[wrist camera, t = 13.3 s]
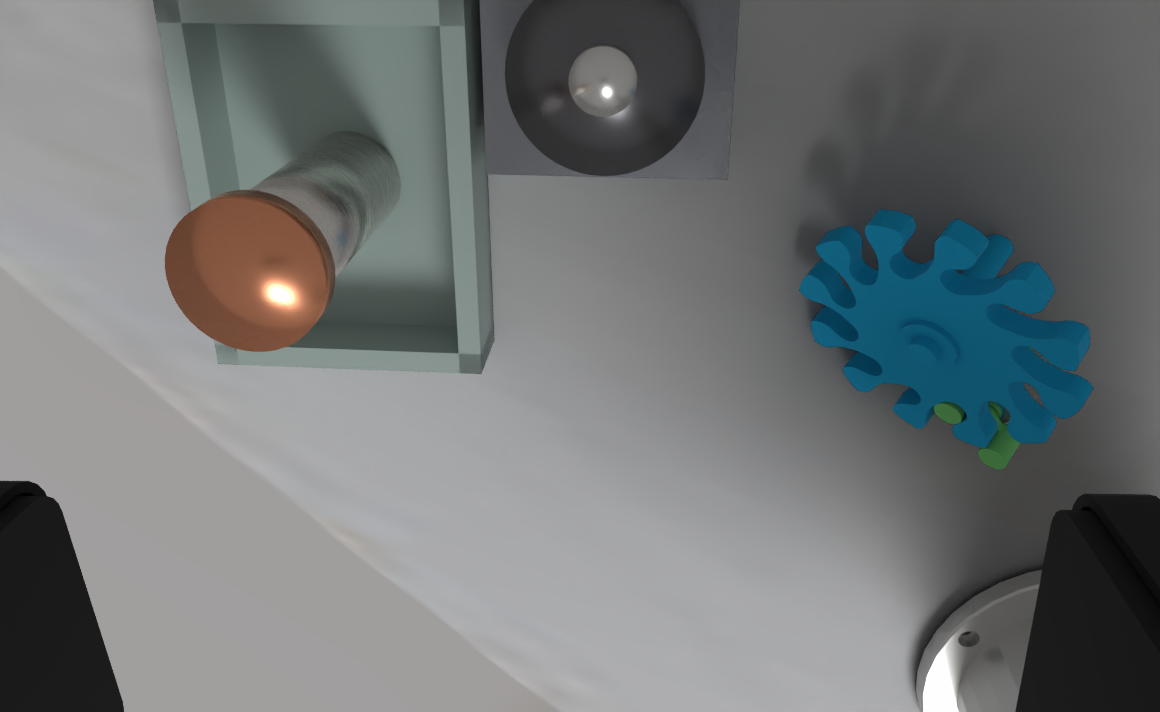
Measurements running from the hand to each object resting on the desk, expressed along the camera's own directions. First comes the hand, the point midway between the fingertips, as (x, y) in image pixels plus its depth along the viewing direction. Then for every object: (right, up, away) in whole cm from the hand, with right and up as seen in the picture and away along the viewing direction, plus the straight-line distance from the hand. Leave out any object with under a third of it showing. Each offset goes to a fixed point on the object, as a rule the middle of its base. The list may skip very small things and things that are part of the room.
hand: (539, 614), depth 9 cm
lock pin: (-8, +9, +26) cm, 29 cm away
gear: (+13, +4, +27) cm, 30 cm away
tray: (-8, +9, +26) cm, 29 cm away
